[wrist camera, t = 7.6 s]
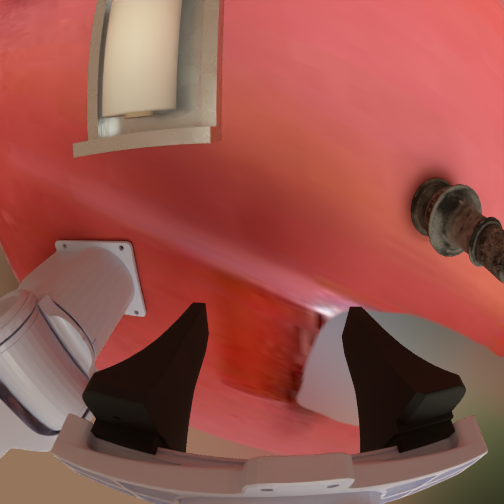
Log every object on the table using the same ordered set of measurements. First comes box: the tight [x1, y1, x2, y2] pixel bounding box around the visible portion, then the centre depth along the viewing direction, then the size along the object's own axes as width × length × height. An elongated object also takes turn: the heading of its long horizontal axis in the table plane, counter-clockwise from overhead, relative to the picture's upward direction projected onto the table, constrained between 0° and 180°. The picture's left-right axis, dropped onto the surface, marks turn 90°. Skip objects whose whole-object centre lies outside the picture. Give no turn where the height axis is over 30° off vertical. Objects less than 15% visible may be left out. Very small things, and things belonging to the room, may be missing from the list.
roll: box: [102, 0, 182, 119], centre depth 13 cm, size 5×12×5 cm, turn 179°
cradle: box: [73, 0, 224, 157], centre depth 13 cm, size 10×16×4 cm, turn 179°
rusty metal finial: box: [411, 178, 504, 283], centre depth 14 cm, size 6×6×12 cm
